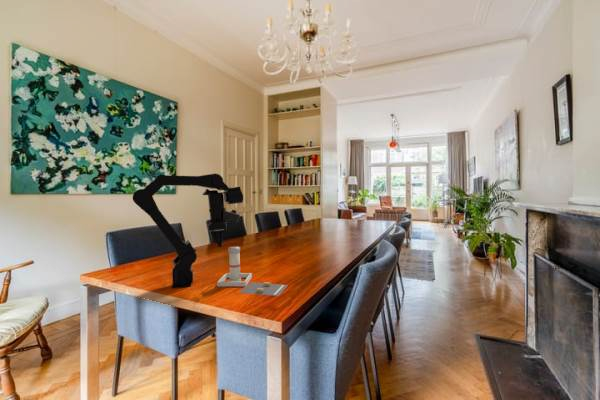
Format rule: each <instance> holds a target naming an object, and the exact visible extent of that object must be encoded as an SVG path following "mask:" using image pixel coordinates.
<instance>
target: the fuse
mask: <svg viewBox="0 0 600 400" xmlns="http://www.w3.org/2000/svg"><path fill="white" fill-rule="evenodd" d="M240 252H241V246H229V247H228V262H229V267H228V268H229V273H230V278H228V279H229V280H228V281H242V278H241V277H240V273H241V261H240V260H241V259H240V257H241V255H240Z"/></svg>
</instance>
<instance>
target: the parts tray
mask: <svg viewBox="0 0 600 400" xmlns="http://www.w3.org/2000/svg"><path fill="white" fill-rule="evenodd" d="M252 276H253V273H252V272H249V273H248V272H244V273H243V272H240V277H241V279H242V278H245V280H244V281H242V280H241V281H229V280H228V281H226V280H227V279H230V272H229V273H228V272H227V273H225V274H224V275H223V276H222V277H221V278H220V279H219V280H218V281H217V282H216V287H246V286H247V285H249V282H250V281H251V279H252V278H253V277H252Z"/></svg>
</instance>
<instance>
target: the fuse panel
mask: <svg viewBox="0 0 600 400" xmlns="http://www.w3.org/2000/svg"><path fill="white" fill-rule="evenodd" d="M287 287H288V284H275V283H272V282H267V281H266V282H265V281H264V282H253V281H252V282H250V283H248V284H247V285H246V286H244V287H243V288H242V289H241V290H239V291H238V293H241V294H250V295H251V294H252V295H260V296H261V295H262V296H272V297H273V296H275V297H279V296H280V295H281V294H282V293H283V291H284V290H285V289H286V288H287Z"/></svg>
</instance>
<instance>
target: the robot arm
mask: <svg viewBox="0 0 600 400" xmlns="http://www.w3.org/2000/svg"><path fill="white" fill-rule="evenodd" d="M164 186H167V187H168V186H170V187H171V186H173V187H174V186H177V187H178V186H182V187H184V186H187V187H188V186H190V187H191V186H193V187H194V186H195V187H201V188H206V189H205V190H204V192H202V195H203V196H207V197H208V199H207V200H208V208H209V209H208V212H209V217H210V218H209V220H210V221H209V224H208V231H209V233H210V234H211V236H212V238H213V239H214V241H215V243H216V245H217V247H218V248H222V246H223V239H224V238H223V237H224V233H226V231H227V229H228V228H227V226H228V221H232V222H234V223H239V219H240V215H241V214H240V213H238V212H237V210H235V209H232V210H231V211H228V210H226V207H225V203H226V204H228V205H234V204H242V203H243V202H244V194H243V191H242V190H241V186H236V187H229V186H228V185H227V184H226V183H225V182H224V179H223V176H222V175H221V174H219V173H211V174H209V173H208V174H204V175H203V174H202V175H171V174H169V175H166V174H159V175H157V176H155V179H153V180H152V181H151V182H150V183H149V184H148V185H146V186H145V187H144V188H142V189H141V188H140V189H137V190H136V191H134V192H133V195H132V201H133V202H134V204H135V205H137V206H138V207H139V208H140V209H141V210H142V211H143V212H145V213H146V214H147V215H148V216H149V217H150V218H151V220H152V221H153V223H154V224H155V225H156V226H157V227H158V229H159V230H160V231H161V233H162V234H163V235H164V237H166V239H167V240H168V241H169V243H170V244H171V246H173V249H174V251H175V254H176V255H177V256H176V257H175V258H174V259H173V260H172V265H173V268H172V270H171V271H172V272H171V274H172V278H171V279H172V284H171V289H174V288H175V289H176V288H184V287H185V288H186V287H191V286H192V284H193V282H194V269H192V265H193V264H194V263H195V262H196V260H197V258H198V257H197V256H198V255H197V253H196V252H197V250H196V248H195V247H193V245H192V243H191V242H190V241H189V240H186V241H184V240H183V239H182V238H181V237H180V236H179V234H178V233H177V232H176V231H175V229H174V227H173V226H172V225H171V224H170V223H169V221H168V219H166V217H165V216H164V214H163V213H162V211H160V209H159V207H158V205H157V203H156V201H155V199H154V196H155V194H156V193H157V192H158V191H160V190H161V189H162V188H163V187H164ZM210 189H211V190H210ZM212 189H213V190H212ZM219 191H221V192H219Z"/></svg>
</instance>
